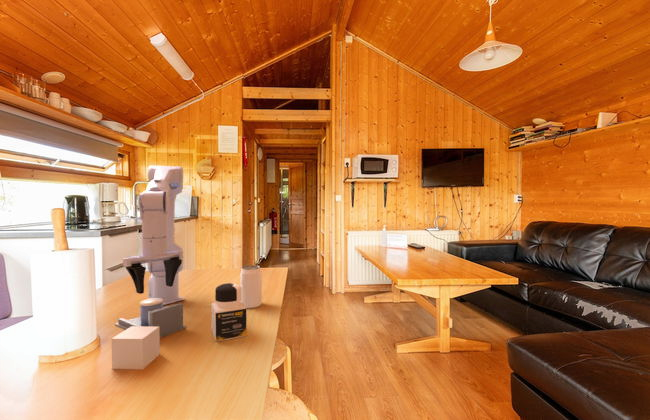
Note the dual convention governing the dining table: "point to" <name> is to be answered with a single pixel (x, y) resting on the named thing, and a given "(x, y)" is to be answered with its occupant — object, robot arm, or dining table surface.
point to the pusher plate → (149, 317)
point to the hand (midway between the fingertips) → (155, 289)
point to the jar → (149, 308)
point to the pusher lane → (160, 320)
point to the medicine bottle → (228, 313)
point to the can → (251, 286)
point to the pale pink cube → (135, 347)
